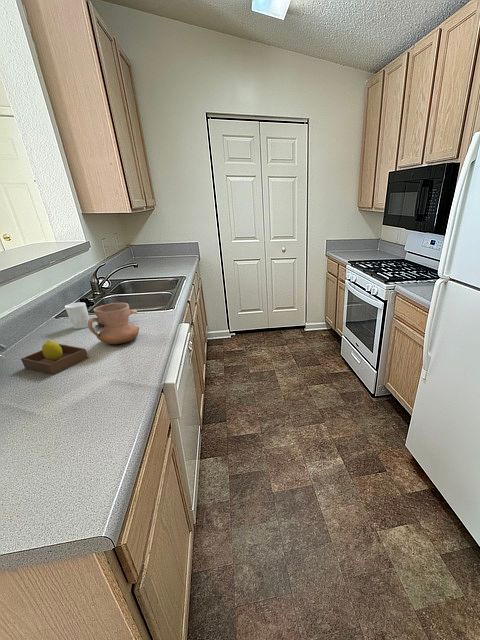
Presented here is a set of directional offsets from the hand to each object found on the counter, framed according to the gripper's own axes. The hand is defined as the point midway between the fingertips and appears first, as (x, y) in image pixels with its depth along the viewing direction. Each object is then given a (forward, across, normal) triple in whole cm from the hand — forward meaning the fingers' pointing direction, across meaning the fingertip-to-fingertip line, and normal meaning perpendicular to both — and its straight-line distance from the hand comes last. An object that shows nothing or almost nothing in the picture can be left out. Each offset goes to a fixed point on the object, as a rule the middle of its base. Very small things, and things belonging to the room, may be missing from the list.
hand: (5, 354), depth 108 cm
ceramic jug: (+30, +7, -19) cm, 36 cm away
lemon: (+13, 0, -4) cm, 14 cm away
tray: (+14, 0, -4) cm, 14 cm away
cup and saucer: (+31, +31, -20) cm, 48 cm away
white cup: (+23, +36, -12) cm, 45 cm away
